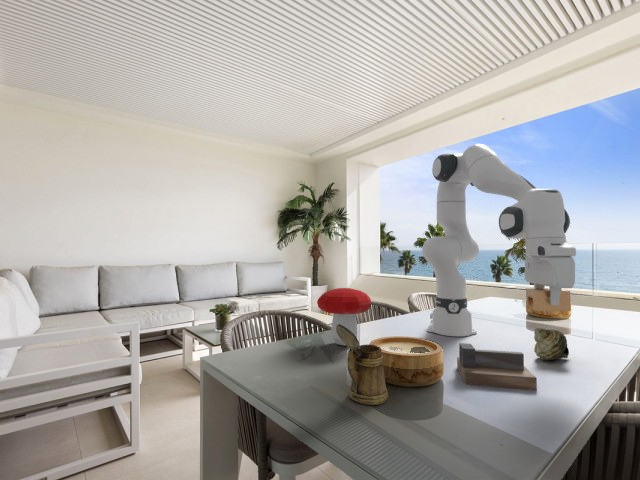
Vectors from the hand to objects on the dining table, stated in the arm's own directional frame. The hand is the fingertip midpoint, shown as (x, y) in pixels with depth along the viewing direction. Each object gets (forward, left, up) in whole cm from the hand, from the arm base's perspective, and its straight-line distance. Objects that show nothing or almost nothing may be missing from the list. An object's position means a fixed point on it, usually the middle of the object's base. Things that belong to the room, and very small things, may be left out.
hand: (547, 302), depth 87 cm
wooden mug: (+21, -46, -20) cm, 55 cm away
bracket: (+1, -13, -20) cm, 24 cm away
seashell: (-18, +9, -20) cm, 29 cm away
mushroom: (-21, -56, -20) cm, 64 cm away
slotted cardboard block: (0, 0, -2) cm, 2 cm away
